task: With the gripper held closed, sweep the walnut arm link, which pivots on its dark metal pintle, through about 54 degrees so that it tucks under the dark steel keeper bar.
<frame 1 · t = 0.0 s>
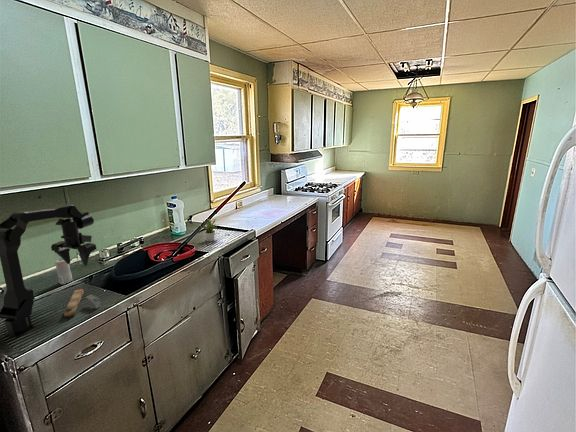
hand: (77, 264, 136), 15 cm above the table, tool pointing down, fingers open, 9 cm apart
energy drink: (66, 282, 151), on the table
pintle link: (74, 301, 130), point 2 cm above the table, hinge at 0.0°
keeper: (97, 307, 129), on the table
house plant: (211, 239, 211), on the table
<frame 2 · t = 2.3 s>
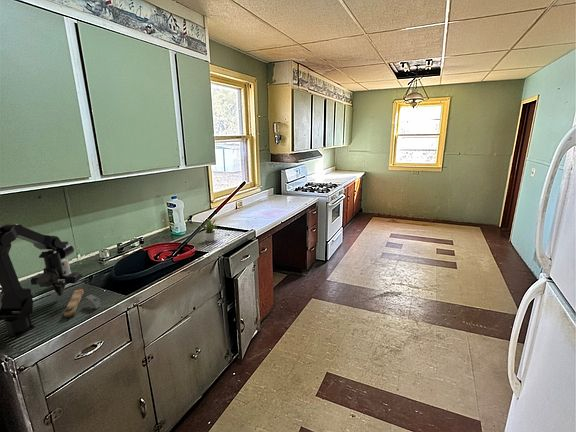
hand: (60, 295, 135), 2 cm above the table, tool pointing down, fingers closed
nothing on the table moved.
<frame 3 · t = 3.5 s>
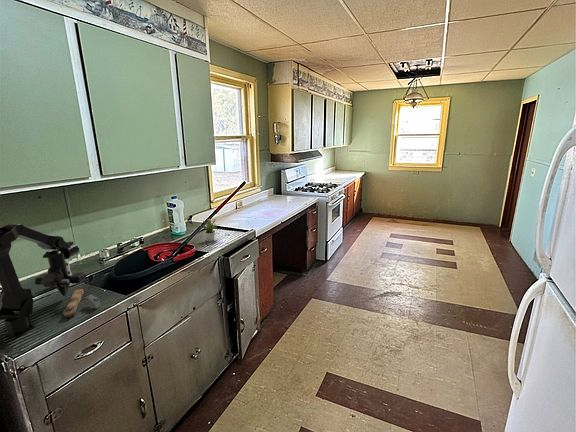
hand: (64, 295, 135), 2 cm above the table, tool pointing down, fingers closed
nothing on the table moved.
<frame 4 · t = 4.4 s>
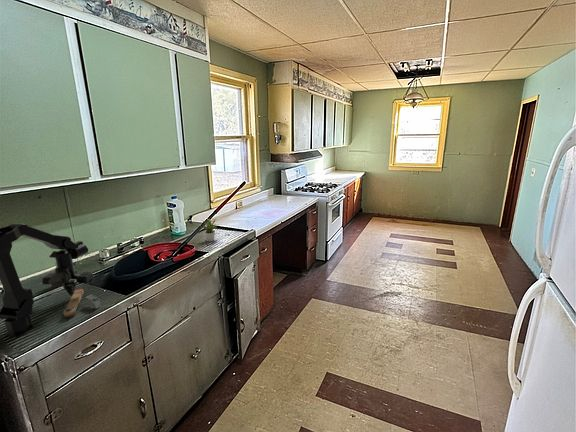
hand: (71, 295, 135), 2 cm above the table, tool pointing down, fingers closed
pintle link: (74, 301, 130), point 2 cm above the table, hinge at -0.1°, touching gripper
everything else where it was.
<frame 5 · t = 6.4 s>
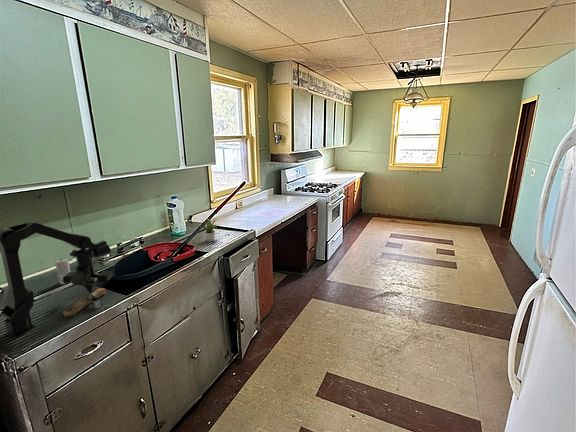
hand: (91, 293, 136), 2 cm above the table, tool pointing down, fingers closed
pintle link: (85, 300, 130), point 2 cm above the table, hinge at -32.8°, touching gripper
everything else where it was.
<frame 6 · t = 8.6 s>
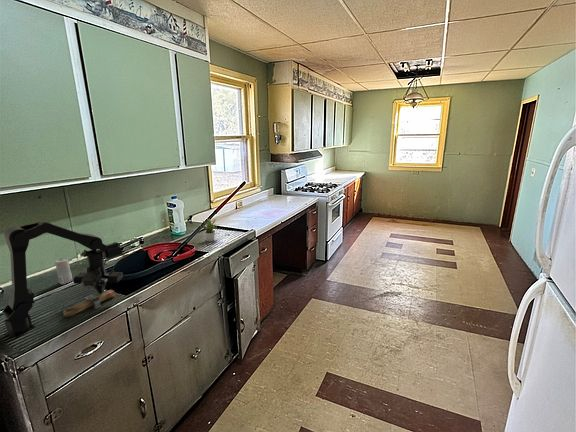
hand: (101, 294, 136), 2 cm above the table, tool pointing down, fingers closed
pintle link: (89, 302, 129), point 2 cm above the table, hinge at -53.1°, touching gripper
everything else where it was.
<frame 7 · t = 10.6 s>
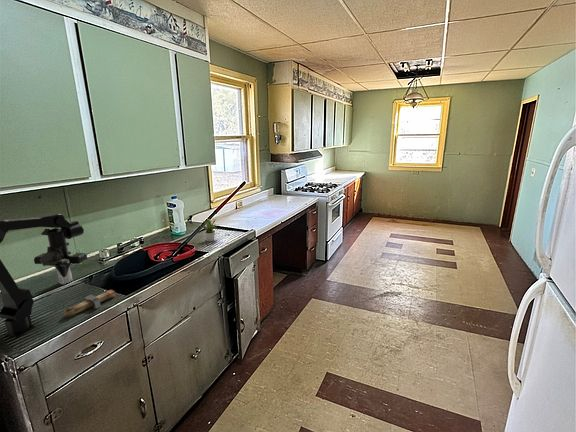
hand: (64, 276, 129), 13 cm above the table, tool pointing down, fingers closed
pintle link: (89, 302, 129), point 2 cm above the table, hinge at -53.4°
everything else where it was.
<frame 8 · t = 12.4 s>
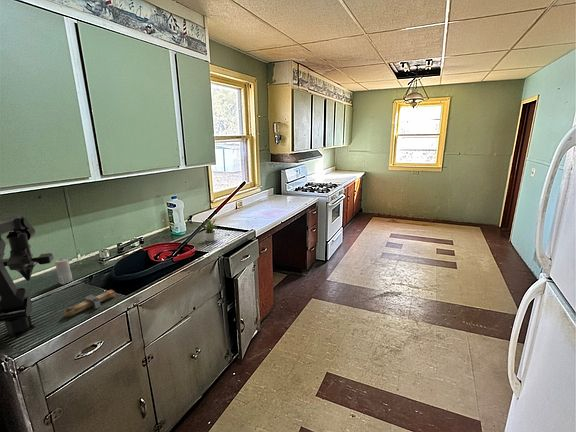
hand: (28, 280, 125), 13 cm above the table, tool pointing down, fingers closed
nothing on the table moved.
at the end: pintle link at -53° (first picture: +0°); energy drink moved 0.2 cm from its start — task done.
